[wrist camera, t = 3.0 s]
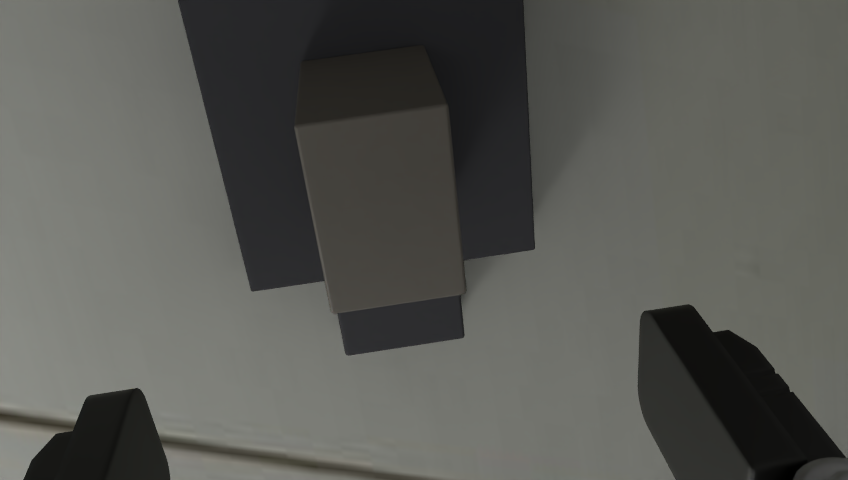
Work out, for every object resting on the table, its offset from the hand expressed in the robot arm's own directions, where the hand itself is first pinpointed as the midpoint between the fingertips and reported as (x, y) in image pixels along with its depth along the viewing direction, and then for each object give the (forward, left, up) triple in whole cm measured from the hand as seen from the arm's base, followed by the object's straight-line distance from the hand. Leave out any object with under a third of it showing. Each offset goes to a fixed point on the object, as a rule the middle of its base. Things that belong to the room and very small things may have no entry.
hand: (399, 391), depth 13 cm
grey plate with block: (0, +2, -13) cm, 13 cm away
